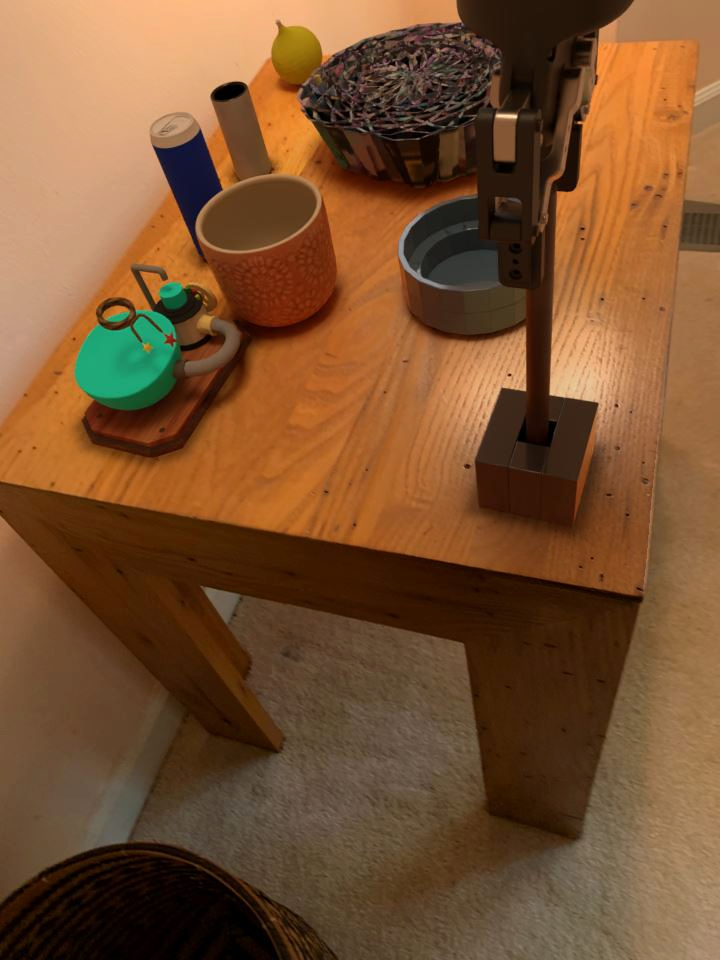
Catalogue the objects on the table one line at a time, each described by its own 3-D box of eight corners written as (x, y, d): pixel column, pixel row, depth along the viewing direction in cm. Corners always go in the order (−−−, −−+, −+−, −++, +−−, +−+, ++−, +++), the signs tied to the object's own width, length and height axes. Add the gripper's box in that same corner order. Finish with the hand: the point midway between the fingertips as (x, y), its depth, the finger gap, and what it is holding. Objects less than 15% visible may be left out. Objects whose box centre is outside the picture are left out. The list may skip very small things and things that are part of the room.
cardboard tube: (250, 186, 92) (223, 105, 84) (230, 175, 95) (202, 94, 87) (278, 168, 94) (255, 86, 85) (258, 157, 96) (233, 77, 88)
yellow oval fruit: (275, 97, 105) (254, 21, 97) (283, 72, 109) (263, -3, 101) (324, 90, 103) (307, 13, 96) (330, 65, 108) (314, -11, 100)
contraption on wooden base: (281, 330, 76) (234, 198, 64) (195, 468, 67) (122, 345, 55) (167, 312, 81) (104, 187, 69) (74, 438, 72) (-17, 320, 60)
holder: (593, 451, 60) (598, 402, 55) (573, 526, 56) (577, 480, 52) (503, 435, 63) (501, 386, 58) (478, 506, 59) (474, 460, 54)
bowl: (565, 251, 75) (568, 198, 70) (530, 350, 68) (531, 299, 63) (431, 239, 80) (425, 189, 75) (386, 330, 73) (376, 281, 68)
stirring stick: (548, 472, 60) (560, 180, 39) (544, 488, 59) (553, 198, 38) (528, 468, 60) (529, 178, 40) (523, 484, 59) (522, 196, 39)
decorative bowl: (500, 228, 82) (504, 144, 73) (276, 194, 90) (258, 115, 82) (555, 103, 94) (564, 19, 86) (355, 83, 102) (346, 4, 94)
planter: (286, 360, 73) (253, 270, 64) (207, 315, 79) (168, 228, 70) (370, 287, 77) (350, 193, 68) (289, 250, 83) (261, 160, 75)
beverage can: (219, 231, 88) (171, 106, 76) (251, 241, 86) (206, 114, 74) (190, 257, 86) (136, 133, 74) (222, 268, 83) (171, 142, 72)
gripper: (615, -52, 23) (582, 331, 36) (681, -203, 30) (634, 162, 43) (392, -41, 26) (436, 312, 39) (501, -183, 33) (507, 156, 46)
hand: (540, 233), depth 41 cm, fingers open, 8 cm apart
